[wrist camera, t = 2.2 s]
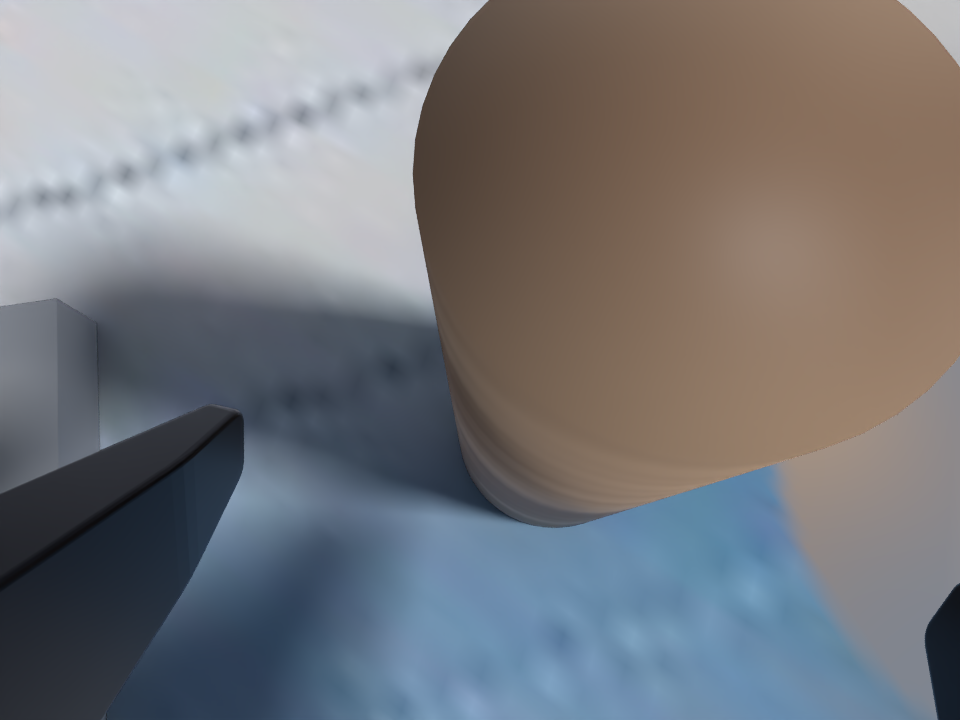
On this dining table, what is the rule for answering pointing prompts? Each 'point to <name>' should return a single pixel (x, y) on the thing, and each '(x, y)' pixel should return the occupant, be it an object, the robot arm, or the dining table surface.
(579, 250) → the post
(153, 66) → the dining table surface
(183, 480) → the robot arm
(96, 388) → the base
